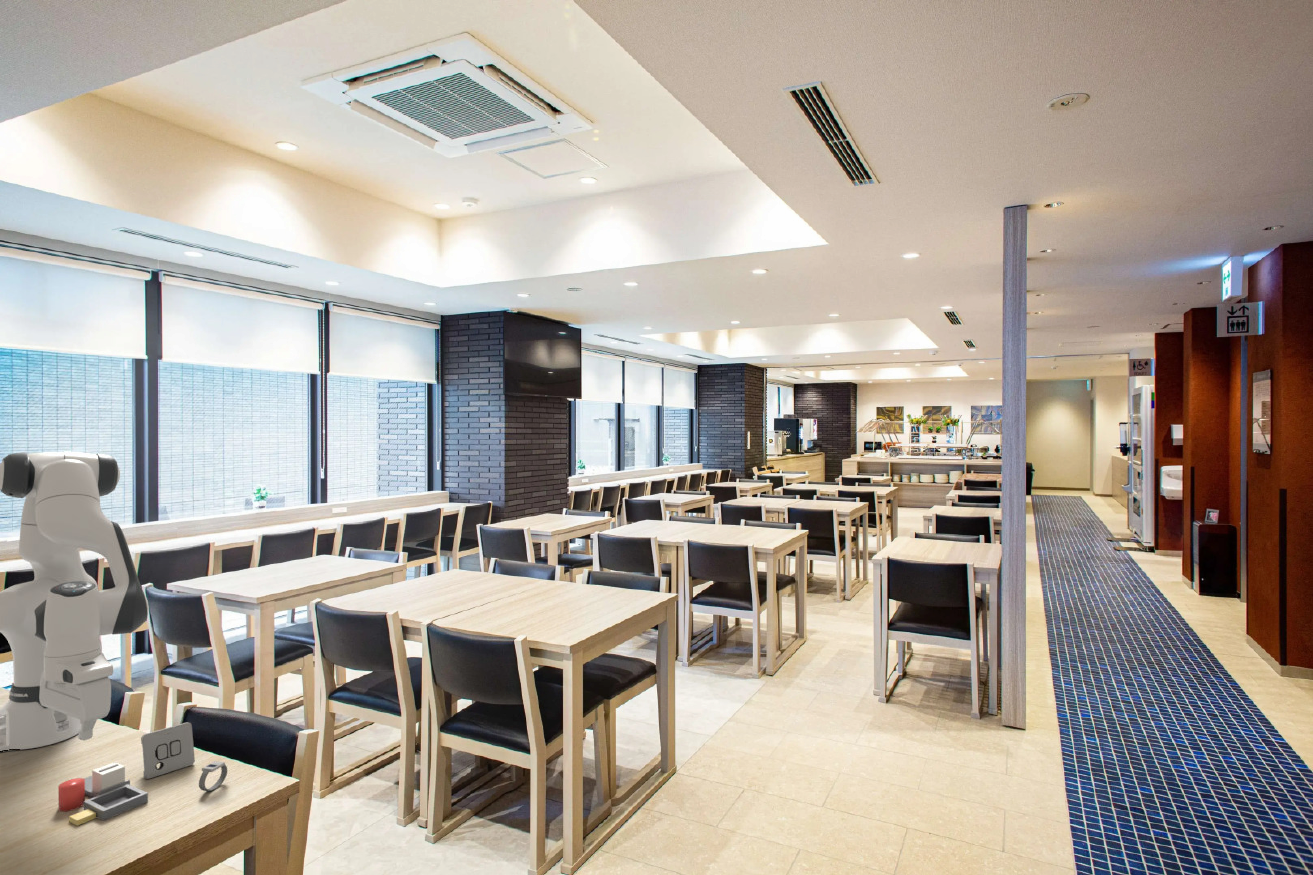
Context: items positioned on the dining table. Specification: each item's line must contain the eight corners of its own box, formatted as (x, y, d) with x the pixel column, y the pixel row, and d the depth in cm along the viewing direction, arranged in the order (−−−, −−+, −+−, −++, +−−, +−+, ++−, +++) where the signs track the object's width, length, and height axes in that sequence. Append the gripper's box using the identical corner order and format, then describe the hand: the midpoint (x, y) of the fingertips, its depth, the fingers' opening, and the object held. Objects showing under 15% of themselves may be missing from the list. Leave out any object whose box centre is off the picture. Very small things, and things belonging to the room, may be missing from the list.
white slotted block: (92, 791, 140) (92, 769, 140) (114, 783, 143) (114, 761, 143) (102, 796, 138) (102, 773, 138) (124, 787, 141) (124, 765, 141)
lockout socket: (63, 818, 131) (63, 809, 131) (127, 792, 140) (128, 783, 140) (83, 828, 127) (83, 819, 127) (147, 801, 137) (147, 792, 137)
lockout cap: (56, 806, 135) (56, 783, 135) (82, 797, 138) (82, 775, 138) (60, 813, 133) (60, 790, 133) (87, 804, 136) (86, 782, 136)
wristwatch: (219, 780, 146) (219, 757, 146) (230, 782, 145) (230, 758, 145) (195, 795, 140) (195, 771, 140) (206, 796, 139) (206, 772, 139)
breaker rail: (67, 786, 143) (67, 776, 143) (98, 774, 148) (98, 765, 148) (99, 801, 137) (99, 791, 137) (129, 789, 142) (129, 779, 142)
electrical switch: (145, 781, 145) (144, 736, 146) (137, 776, 149) (137, 732, 149) (195, 765, 153) (194, 722, 153) (187, 760, 156) (186, 719, 157)
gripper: (29, 662, 138) (29, 730, 138) (79, 677, 128) (79, 750, 128) (67, 653, 143) (67, 718, 143) (118, 667, 134) (118, 737, 134)
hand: (73, 734), depth 136 cm, fingers open, 8 cm apart
